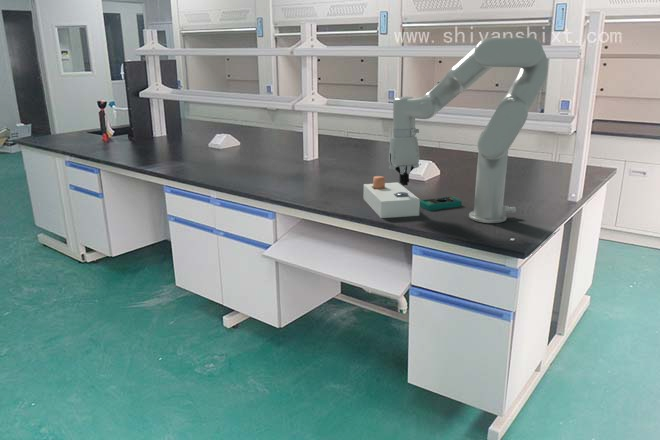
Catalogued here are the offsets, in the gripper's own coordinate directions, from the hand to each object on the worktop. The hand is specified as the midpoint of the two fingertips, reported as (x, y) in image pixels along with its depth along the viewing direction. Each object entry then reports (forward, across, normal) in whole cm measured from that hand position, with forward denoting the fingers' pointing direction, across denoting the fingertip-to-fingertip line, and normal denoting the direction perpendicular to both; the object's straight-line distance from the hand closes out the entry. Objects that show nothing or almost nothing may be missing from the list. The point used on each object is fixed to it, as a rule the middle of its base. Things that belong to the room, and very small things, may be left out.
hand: (404, 184), depth 189 cm
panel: (+10, +3, -7) cm, 13 cm away
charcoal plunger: (+9, +1, 0) cm, 9 cm away
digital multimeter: (+11, -15, -4) cm, 19 cm away
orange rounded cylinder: (+5, +6, -13) cm, 16 cm away
